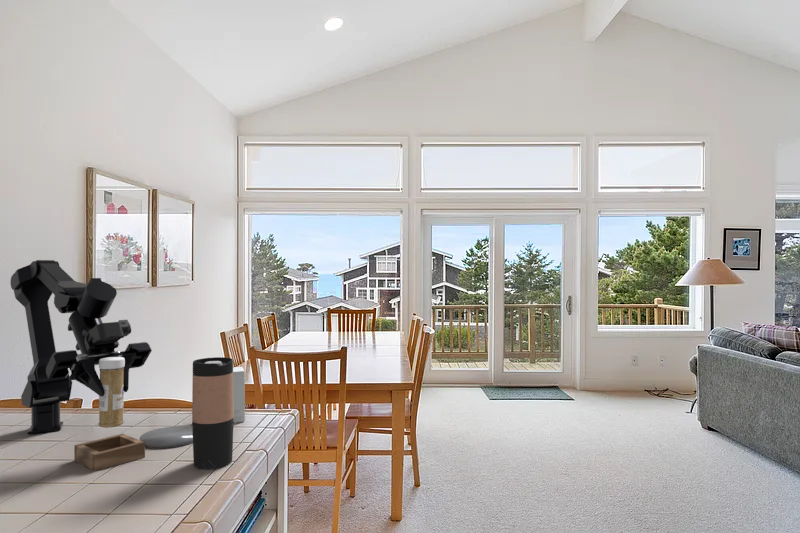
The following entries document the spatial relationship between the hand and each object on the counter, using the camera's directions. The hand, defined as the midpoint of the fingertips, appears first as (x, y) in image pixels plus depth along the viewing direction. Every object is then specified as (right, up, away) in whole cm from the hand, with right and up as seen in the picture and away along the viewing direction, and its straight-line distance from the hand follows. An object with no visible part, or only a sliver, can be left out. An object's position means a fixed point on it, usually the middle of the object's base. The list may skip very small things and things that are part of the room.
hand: (115, 392), depth 107 cm
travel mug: (+20, -13, -2) cm, 24 cm away
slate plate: (+6, -13, +13) cm, 19 cm away
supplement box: (+14, -14, +28) cm, 34 cm away
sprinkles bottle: (-1, -7, +1) cm, 7 cm away
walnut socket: (-1, -13, 0) cm, 13 cm away
